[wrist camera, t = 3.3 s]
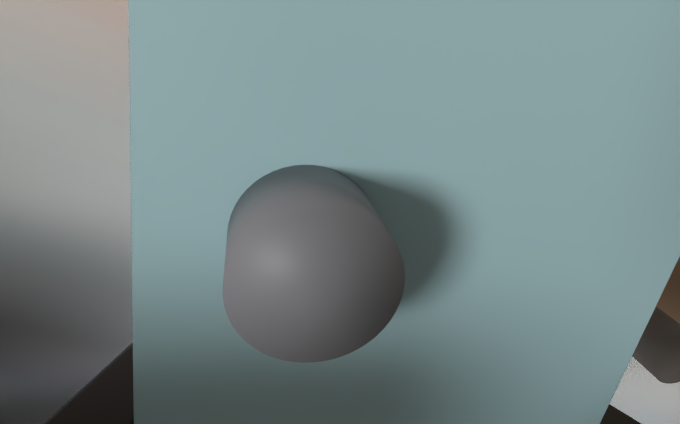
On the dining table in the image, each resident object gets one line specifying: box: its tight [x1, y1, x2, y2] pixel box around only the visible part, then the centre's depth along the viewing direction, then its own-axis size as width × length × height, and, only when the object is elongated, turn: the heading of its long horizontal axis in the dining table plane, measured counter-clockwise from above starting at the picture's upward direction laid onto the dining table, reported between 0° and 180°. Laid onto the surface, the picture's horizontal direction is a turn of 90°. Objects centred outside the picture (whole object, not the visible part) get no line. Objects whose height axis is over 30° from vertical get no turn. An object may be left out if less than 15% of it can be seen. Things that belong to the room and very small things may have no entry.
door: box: [129, 0, 680, 424], centre depth 7 cm, size 12×5×5 cm, turn 171°
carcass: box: [632, 257, 680, 383], centre depth 13 cm, size 18×13×4 cm
